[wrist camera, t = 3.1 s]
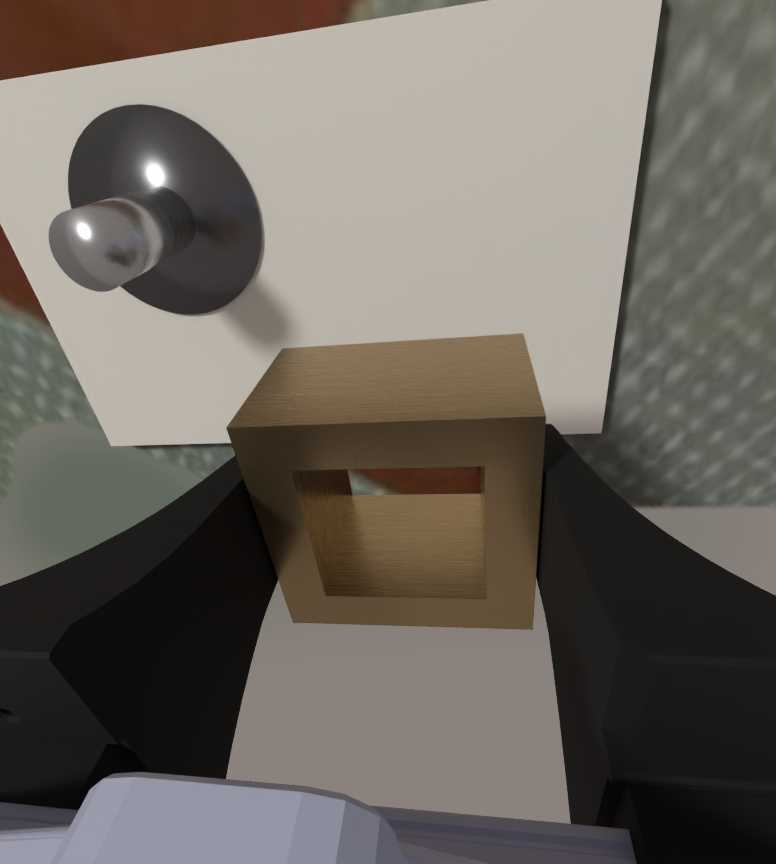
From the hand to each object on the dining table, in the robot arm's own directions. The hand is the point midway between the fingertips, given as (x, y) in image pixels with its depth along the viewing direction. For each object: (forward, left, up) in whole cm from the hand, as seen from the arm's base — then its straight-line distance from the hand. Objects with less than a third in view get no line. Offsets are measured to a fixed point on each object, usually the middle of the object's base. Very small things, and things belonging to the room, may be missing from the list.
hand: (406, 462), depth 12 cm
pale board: (+4, -2, -9) cm, 10 cm away
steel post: (+9, -5, -9) cm, 13 cm away
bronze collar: (0, 0, -1) cm, 1 cm away
